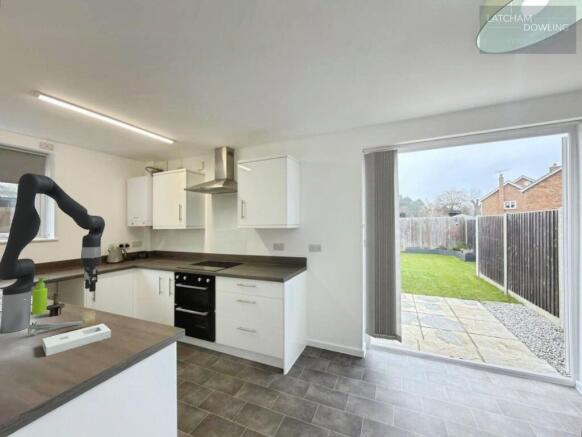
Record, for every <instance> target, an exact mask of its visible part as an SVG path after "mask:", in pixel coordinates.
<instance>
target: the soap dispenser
mask: <svg viewBox="0 0 582 437" xmlns="http://www.w3.org/2000/svg"><path fill="white" fill-rule="evenodd" d="M48 279H50V278H49V277H47V276H42V277H37V278H36V280H38V282H37V283H36V285H35V289H32V296H31V315H39V314H45V313H47V311H48V310H47V306H48V288H47V287H45V286H46V282H44V280H48Z"/></svg>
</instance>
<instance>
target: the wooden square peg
mask: <svg viewBox="0 0 582 437" xmlns="http://www.w3.org/2000/svg"><path fill="white" fill-rule="evenodd" d="M96 314H97V313H96V310H94V309H92V310H87V311H83V312H82V321H83V323H82V324H81V325H82V327H81V329H83V328H87V327H91V326H95V325H96Z"/></svg>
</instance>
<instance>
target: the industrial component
mask: <svg viewBox="0 0 582 437" xmlns="http://www.w3.org/2000/svg"><path fill="white" fill-rule="evenodd" d="M59 301H60V292H54V293H53V303H52V304H48V305H47V311H49V317H55V316H60V315H62V310H63V308H65V306H66V303H64V302H63V303H62V302H61V303H60V302H59Z"/></svg>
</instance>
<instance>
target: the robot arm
mask: <svg viewBox="0 0 582 437" xmlns="http://www.w3.org/2000/svg"><path fill="white" fill-rule="evenodd" d="M38 194H39V195H46V196H48V197H49V198H51V199H52V200H54V202H55V203H56V205H57V207H58V208H59V210H61V211H62V212H63V213H64V214H65V215H66V216H69V217H70V218H71V219H72V220H73V221H74V222H75V224H76V225H77V226H78V227H79V228H82V229H83V230H87V231H88V233H87V234H85V235H83V237H82V239H81V251H80V267H82V268H83V280H84V289H85V290H89V293H91V292H92V293H93V292H95V291H96V287H97V286H96V284H97V283H98V276H99V275H98V274H99V273H98V271H99V269H96V267H100V266H101V264H102V247H101V246H102V236H103V234H104V230H105V228H106V221H105V218H103V217H102V216H100V215H91V214H89V213H88V209H87V208H86V207H85V206H83V205H82V204H80V203H79V202H78V201H76V200H75V199H74V198H72V197H71V196H70V195H69V194H68V193H67V192H66V191H65V190H63V188H61V186H60V185H58V183H57V182H55V180H53V179H52V178H51V177H49V176H47V175H44V174H38V173H37V174H36V173H31V172H27V173H24V174H23V175H21V176H20V178H19V179H18V184H17V193H16V202H15V206H14V207H15V208H14V213H13V216H12V220H11V223H10V228H9V233H8V237H7V241H6V246H5V249H4V251H3V254H2V256H1V259H0V279H1V280H3V281H10V280H15V281H14V282H13V283H11V284H10V285H7V286H5V287H4V288H3V289H2V295H1V314H0V333H3V334H6V333H14V332H18V331H21V330H25V329H28V328H29V326H30V325H31V313H32V291H33V289H32V287H33V286H34V282H35V275H36V263H35V261H34V260H33V259H32V258H26V257H25V258H19V257H20V255H21V253H22V251H23V250H24V249H25V248H26V247H27V246H28V245H30V243H32V241H34V239H35V238H36V237H38V236H37V235H38V234H39V230H40V227H41V223H42V221H41V217H40V215H39V212H38V210H37V208H36V205H35V202H36V195H38Z"/></svg>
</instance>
